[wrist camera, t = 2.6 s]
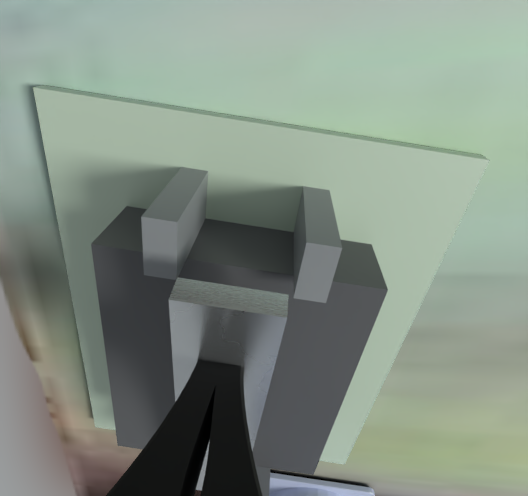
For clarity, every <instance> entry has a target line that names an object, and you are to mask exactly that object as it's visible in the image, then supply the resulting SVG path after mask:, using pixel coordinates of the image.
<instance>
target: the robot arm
mask: <svg viewBox="0 0 528 496" xmlns="http://www.w3.org/2000/svg"><path fill="white" fill-rule="evenodd" d="M209 440H210V441H209ZM208 444H209V451H208V458H207V465H206V471H205V477H204V481H203V486H202V491H201V496H262V492H261V488H260V484H259V480H258V475H257V471H256V466H255V462H254V457H253V452H252V447H251V442H250V436H249V430H248V424H247V417H246V409H245V399H244V368H243V367H242V366H238V365H231V364H224V363H217V362H211V361H204V360H200V361H198V362H197V363H196V366H195V368H194V370H193V372H192V374H191V376H190V378H189V380H188V382H187V383H186V385H185V387H184V389H183V390H182V392H181V394H180V395H179V397H178V399H177V400H176V402H175V404H174V405H173V407H172V408H171V410H170V411H169V413H168V414H167V416H166V418H165V419H164V421H163V422H162V424H161V425H160V426H159V428H158V429H157V431H156V432H155V433H154V435H153V436H152V438H151V439H150V440H149V442H148V443H147V445H146V446H145V447H144V449H143V450H142V451H141V453H140V454H139V455H138V457H137V458H136V459H135V461H134V462H133V463H132V465H131V466H130V467H129V468H128V470H127V471H126V472H125V473H124V475H123V476H122V477H121V478H120V479H119V481H118V482H117V483H116V484H115V486H114V487H113V488H112V489H111V490H110V491H109V493H108V494H107V495H106V496H194V494H195V490H196V487H197V483H198V479H199V476H200V472H201V469H202V465H203V462H204V458H205V454H206V451H207V447H208ZM269 496H375V494H374V490H373V489H372V488H370V487H364V486H358V485H351V484H344V483H338V482H331V481H324V480H317V479H311V478H304V477H297V476H291V475H284V474H277V473H271V472H270V488H269Z"/></svg>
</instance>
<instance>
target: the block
mask: <svg viewBox="0 0 528 496" xmlns="http://www.w3.org/2000/svg"><path fill="white" fill-rule="evenodd" d="M169 314H170V329H171V344H172V359H173V374H174V390H175V402H176V400H177V399H178V397H179V395H180V394H181V392H182V390H183V389H184V387H185V385H186V383H187V382H188V380H189V378H190V376H191V374H192V372H193V370H194V368H195V366H196V363H197V362H198V361H200V360H204V361H211V362H217V363H224V364H231V365H238V366H242V367H243V368H244V399H245V409H246V417H247V424H248V430H249V436H250V442H251V447H252V451H253V447H254V443H255V439H256V435H257V432H258V428H259V424H260V420H261V416H262V413H263V409H264V405H265V401H266V397H267V394H268V390H269V386H270V382H271V378H272V374H273V371H274V367H275V363H276V359H277V355H278V352H279V348H280V344H281V340H282V336H283V332H284V329H285V325H286V321H287V314H288V294H282V293H275V292H269V291H262V290H256V289H249V288H243V287H237V286H230V285H224V284H217V283H211V282H204V281H198V280H191V279H185V278H178V277H177V280H176V282H175V285H174V287H173V290H172V292H171V295H170V297H169ZM209 441H210V440H209ZM208 451H209V444H208V447H207V451H206V454H205V458H204V462H203V465H202V469H201V472H200V476H199V479H198V483H197V487H196V490H201V491H202V486H203V481H204V477H205V471H206V465H207V458H208Z"/></svg>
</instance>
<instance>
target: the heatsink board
mask: <svg viewBox="0 0 528 496" xmlns="http://www.w3.org/2000/svg"><path fill="white" fill-rule="evenodd" d="M33 90H34V96H35V101H36V106H37V112H38V117H39V123H40V128H41V134H42V139H43V145H44V150H45V156H46V161H47V166H48V172H49V177H50V183H51V188H52V194H53V199H54V205H55V210H56V215H57V221H58V226H59V232H60V237H61V243H62V248H63V254H64V259H65V265H66V270H67V275H68V281H69V286H70V292H71V297H72V303H73V308H74V314H75V319H76V325H77V330H78V335H79V341H80V346H81V352H82V357H83V363H84V368H85V374H86V379H87V384H88V390H89V395H90V401H91V406H92V412H93V417H94V423H95V427H98V428H105V429H112V430H116V435H117V443H118V446H124V447H131V448H138V449H144V447H145V446H146V445H147V443H148V442H149V440H150V439H151V438H152V436H153V435H154V433H155V432H156V431H157V429H158V428H159V426H160V425H161V424H162V422H163V421H164V419H165V418H166V416H167V414H168V413H169V411H170V410H171V408H172V407H173V405H174V404H175V390H174V374H173V359H172V344H171V329H170V314H169V297H170V295H171V292H172V290H173V287H174V285H175V282H176V280H177V277H178V278H185V279H191V280H198V281H204V282H211V283H217V284H224V285H230V286H237V287H243V288H249V289H256V290H262V291H269V292H275V293H282V294H288V314H287V321H286V325H285V329H284V332H283V336H282V340H281V344H280V348H279V352H278V355H277V359H276V363H275V367H274V371H273V374H272V378H271V382H270V386H269V390H268V394H267V397H266V401H265V405H264V409H263V413H262V416H261V420H260V424H259V428H258V432H257V435H256V439H255V443H254V447H253V451H252V452H253V457H254V462H255V466H256V471H257V475H258V480H259V484H260V488H261V492H262V496H269V488H270V469H271V468H272V469H279V470H285V471H292V472H299V473H305V474H312V475H313V474H314V472H315V469H316V467H317V464H318V462H319V461H326V462H332V463H339V464H345V462H346V460H347V458H348V456H349V454H350V452H351V450H352V448H353V446H354V444H355V442H356V439H357V437H358V435H359V433H360V431H361V429H362V427H363V425H364V423H365V421H366V419H367V416H368V414H369V412H370V410H371V408H372V406H373V404H374V402H375V400H376V398H377V396H378V393H379V391H380V389H381V387H382V385H383V383H384V381H385V379H386V377H387V375H388V373H389V370H390V368H391V366H392V364H393V362H394V360H395V358H396V356H397V354H398V352H399V350H400V347H401V345H402V343H403V341H404V339H405V337H406V335H407V333H408V331H409V329H410V327H411V324H412V322H413V320H414V318H415V316H416V314H417V312H418V310H419V308H420V306H421V304H422V301H423V299H424V297H425V295H426V293H427V291H428V289H429V287H430V285H431V283H432V281H433V278H434V276H435V274H436V272H437V270H438V268H439V266H440V264H441V262H442V260H443V258H444V256H445V253H446V251H447V249H448V247H449V245H450V243H451V241H452V239H453V237H454V235H455V233H456V230H457V228H458V226H459V224H460V222H461V220H462V218H463V216H464V214H465V212H466V210H467V207H468V205H469V203H470V201H471V199H472V197H473V195H474V193H475V191H476V189H477V187H478V184H479V182H480V180H481V178H482V176H483V174H484V172H485V170H486V168H487V166H488V164H489V161H490V160H489V159H487V158H486V157H484V156H483V155H478V154H472V153H466V152H459V151H453V150H447V149H441V148H434V147H428V146H422V145H416V144H409V143H403V142H397V141H390V140H384V139H378V138H372V137H365V136H359V135H353V134H347V133H340V132H334V131H328V130H322V129H315V128H309V127H303V126H296V125H290V124H284V123H278V122H271V121H265V120H259V119H253V118H246V117H240V116H234V115H228V114H221V113H215V112H209V111H203V110H196V109H190V108H184V107H177V106H171V105H165V104H159V103H152V102H146V101H140V100H134V99H127V98H121V97H115V96H109V95H102V94H96V93H90V92H83V91H77V90H71V89H65V88H58V87H52V86H46V85H42V86H37V87H33Z"/></svg>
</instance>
